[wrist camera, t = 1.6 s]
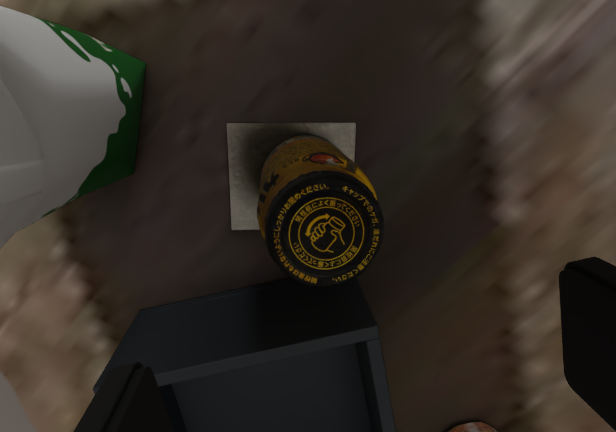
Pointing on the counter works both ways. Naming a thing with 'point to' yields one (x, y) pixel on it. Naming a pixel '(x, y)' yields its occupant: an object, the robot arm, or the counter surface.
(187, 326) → the dark grey open box
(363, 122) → the counter surface
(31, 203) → the milk carton
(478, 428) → the sauce bottle
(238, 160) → the condiment
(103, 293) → the counter surface
